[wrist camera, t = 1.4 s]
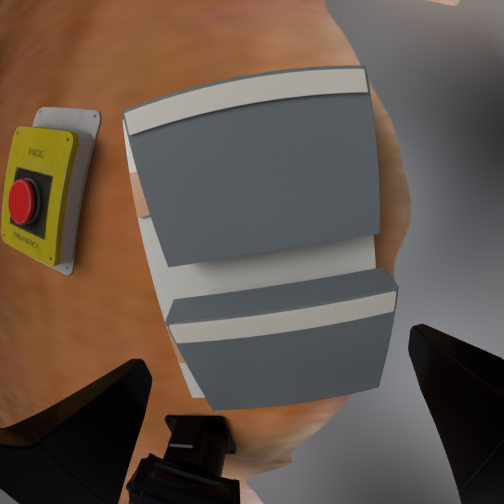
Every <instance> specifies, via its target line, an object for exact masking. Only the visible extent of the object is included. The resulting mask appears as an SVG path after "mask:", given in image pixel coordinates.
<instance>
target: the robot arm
mask: <svg viewBox="0 0 504 504" xmlns="http://www.w3.org/2000/svg"><path fill="white" fill-rule="evenodd" d="M408 351H409V355H410V358H411V361H412V364H413V367H414V370H415V373H416V376H417V380H418V382H419V386H420V389H421V391H422V394H423V396H424V399H425V401H426V403H427V406H428V408H429V410H430V413H431V415H432V418H433V420H434V423H435V425H436V428H437V430H438V433H439V435H440V438H441V440H442V443H443V446H444V449H445V451H446V454H447V457H448V460H449V463H450V466H451V469H452V472H453V475H454V479H455V482H456V485H457V489H458V491H459V496H460V500H461V503H462V504H504V359H502V358H500V357H498V356H496V355H493V354H491V353H489V352H487V351H484V350H482V349H480V348H478V347H475V346H473V345H471V344H468V343H466V342H464V341H462V340H459V339H457V338H455V337H452V336H450V335H448V334H445V333H443V332H441V331H439V330H436V329H434V328H432V327H429V326H427V325H424V324H419V325H415V326H413V327H412V328H411V330H410V338H409V345H408ZM151 385H152V376H151V374H150V372H149V370H148V368H147V366H146V364H145V362H144V361H143V360H142V359H131V360H129V361H127V362H126V363H124V364H123V365H121V366H119V367H118V368H116V369H114V370H113V371H111V372H109V373H108V374H106V375H104V376H103V377H101V378H99V379H98V380H96V381H94V382H93V383H91V384H89V385H87V386H86V387H84V388H82V389H81V390H79V391H77V392H75V393H74V394H72V395H70V396H69V397H67V398H65V399H63V400H62V401H60V402H58V403H56V404H55V405H53V406H51V407H49V408H47V409H45V410H44V411H42V412H40V413H38V414H36V415H34V416H31V417H29V418H27V419H25V420H23V421H21V422H18V423H16V424H14V425H12V426H9V427H5V428H0V504H118V502H119V498H120V495H121V491H122V488H123V484H124V481H125V477H126V474H127V471H128V467H129V464H130V461H131V457H132V454H133V451H134V448H135V445H136V441H137V438H138V435H139V432H140V429H141V426H142V423H143V420H144V417H145V412H146V408H147V403H148V399H149V394H150V390H151ZM219 420H220V421H219ZM165 422H166V424H167V426H168V427H169V429H170V431H171V433H172V434H171V437H170V440H169V442H168V447H167V450H166V452H165V455H164V457H163V459H162V458H159V457H156V456H155V455H153V454H151V453H150V454H149V456H148V458H143V459H141V461H140V463H139V465H138V468H137V470H136V471H135V473H134V474H133V476H132V477H131V479H130V480H129V482H128V483H127V485H126V489H127V491H128V493H129V498H130V499H129V504H240V483H239V480H235V479H233V480H232V479H227V478H223V477H221V476H222V470H223V465H224V459H225V454H235V453H236V447H235V444H234V442H233V439H232V437H231V434H230V432H229V429H228V426H227V424H226V421H225V419H224V418H223V417H221V416H171V415H167V416H166V417H165Z"/></svg>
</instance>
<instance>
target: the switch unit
mask: <svg viewBox="0 0 504 504" xmlns="http://www.w3.org/2000/svg"><path fill="white" fill-rule="evenodd" d="M123 127H124V136H125V144H126V151H127V159H128V165H129V172H130V179H131V185H132V190H133V196H134V201H135V207H136V212H137V217H138V221H139V226H140V230H141V235H142V239H143V243H144V248H145V252H146V256H147V260H148V264H149V268H150V272H151V276H152V279H153V283H154V287H155V290H156V294H157V297H158V301H159V304H160V307H161V311H162V314H163V317H164V320H165V321H166V318H167V316H168V313H169V311H170V308H171V305H172V303H173V300H174V299H180V298H188V297H196V296H204V295H212V294H220V293H227V292H234V291H242V290H249V289H256V288H262V287H269V286H276V285H282V284H288V283H295V282H301V281H307V280H313V279H319V278H325V277H331V276H337V275H342V274H348V273H353V272H359V271H364V270H370V269H375V268H376V264H375V248H374V235H370V236H363V237H357V238H351V239H345V240H339V241H332V242H326V243H320V244H314V245H308V246H301V247H295V248H289V249H283V250H276V251H270V252H264V253H257V254H251V255H245V256H239V257H232V258H226V259H220V260H213V261H207V262H201V263H194V264H188V265H182V266H175V267H169V268H168V265H167V263H166V260H165V257H164V254H163V251H162V249H161V246H160V243H159V240H158V237H157V234H156V231H155V228H154V225H153V222H152V219H151V216H150V213H149V210H148V207H147V204H146V200H145V197H144V194H143V190H142V187H141V184H140V180H139V177H138V173H137V170H136V166H135V162H134V159H133V155H132V151H131V147H130V143H129V139H128V135H127V131H126V127H125V123H124V120H123ZM166 327H167V325H166ZM167 330H168V333H169V336H170V339H171V342H172V345H173V348H174V351H175V354H176V356H177V359H178V362H179V364H180V367H181V370H182V372H183V375H184V378H185V380H186V383H187V385H188V388H189V391H190V393H191V396H192V398H205V396H204V394H203V393H202V391H201V389H200V387H199V386H198V384H197V382H196V380H195V379H194V377H193V375H192V373H191V372H190V370H189V368H188V366H187V364H186V362H185V361H184V359H183V357H182V355H181V353H180V351H179V349H178V347H177V345H176V343H175V341H174V339H173V337H172V335H171V333H170V331H169V329H168V327H167Z"/></svg>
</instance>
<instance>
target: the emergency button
mask: <svg viewBox="0 0 504 504" xmlns="http://www.w3.org/2000/svg"><path fill="white" fill-rule="evenodd" d="M100 122H101V116H100V113H99V112H98V111H96V110H88V109H75V108H59V107H42V108H40V109H39V111H38V112H37V114H36V116H35V119H34V123H33V126H32V127H29V126H22V127H18V128H17V130H16V131H15V133H14V137H13V141H12V146H11V150H10V155H9V161H8V166H7V173H6V179H5V187H4V196H3V206H2V220H1V237H2V239H3V241H4V242H5V243H6V244H8V245H10V246H12V247H13V248H15V249H17V250H19V251H20V252H22V253H24V254H26V255H28V256H29V257H31V258H33V259H35V260H37V261H39V262H41V263H43V264H45V265H46V266H49V267H50V268H52V269H54V270H56V271H58V272H60V273H62V274H65V275H70V274H71V273H72V272H73V268H74V258H75V247H76V238H77V230H78V222H79V215H80V209H81V203H82V197H83V192H84V187H85V182H86V177H87V172H88V168H89V163H90V159H91V155H92V151H93V147H94V144H95V140H96V137H97V133H98V130H99V126H100Z"/></svg>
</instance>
